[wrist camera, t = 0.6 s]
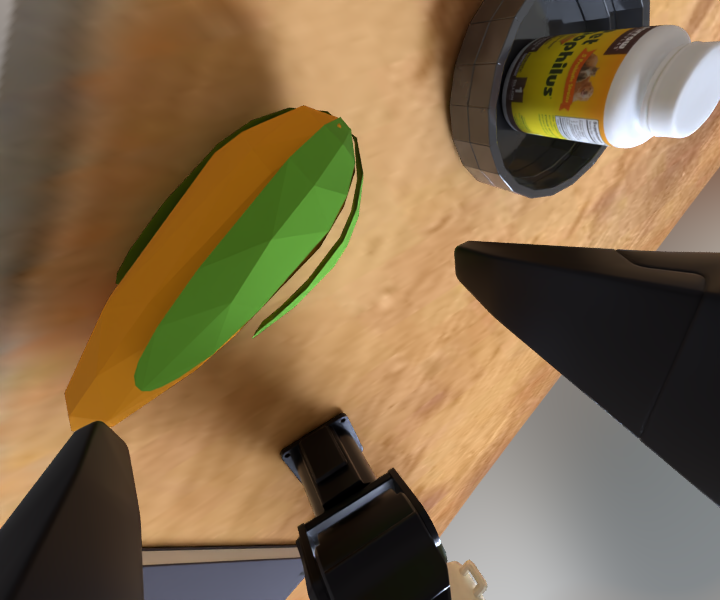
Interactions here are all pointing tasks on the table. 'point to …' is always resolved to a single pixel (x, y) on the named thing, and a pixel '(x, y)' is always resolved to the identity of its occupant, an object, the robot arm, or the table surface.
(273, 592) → the notebook
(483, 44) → the skillet
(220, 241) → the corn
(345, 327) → the table surface
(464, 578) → the character mug
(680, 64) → the supplement bottle
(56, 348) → the table surface
